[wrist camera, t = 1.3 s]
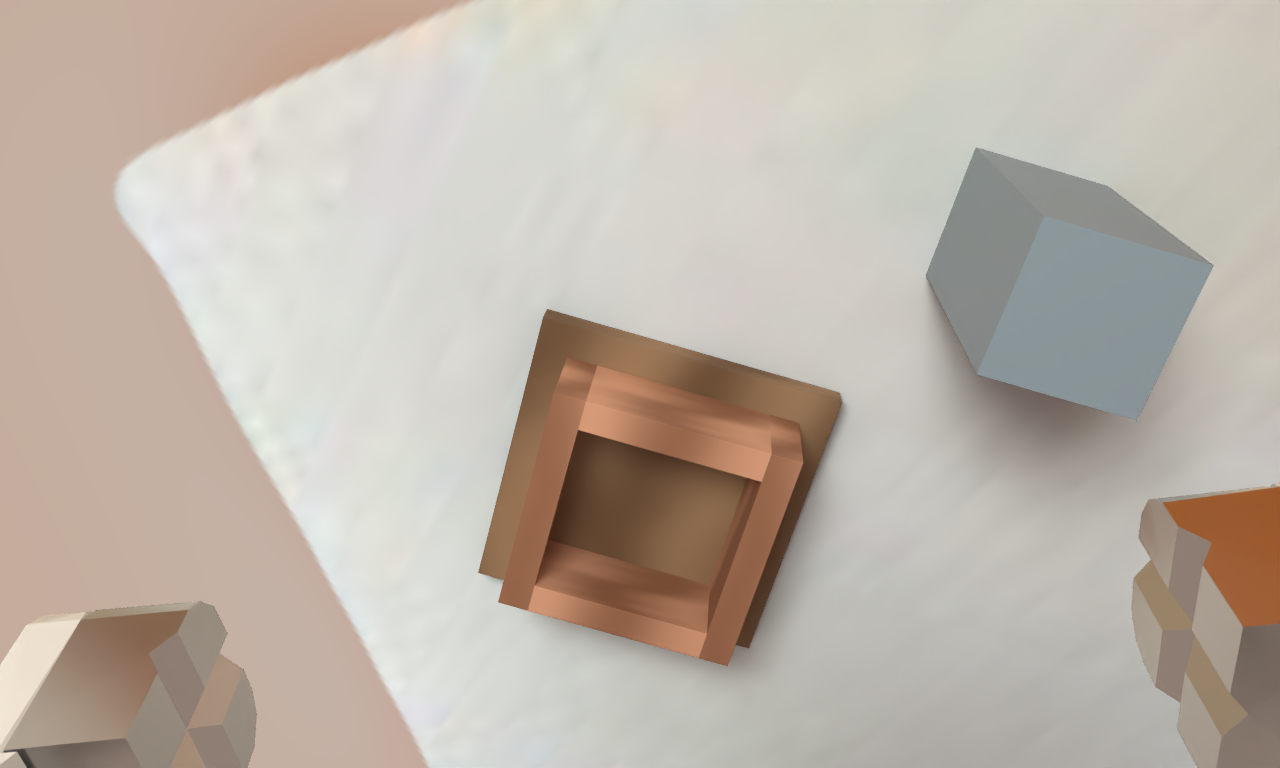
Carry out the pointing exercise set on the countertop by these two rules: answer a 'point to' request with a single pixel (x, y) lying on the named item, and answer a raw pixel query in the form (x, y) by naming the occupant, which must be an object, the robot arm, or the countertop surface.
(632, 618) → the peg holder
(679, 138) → the countertop surface
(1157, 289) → the square peg
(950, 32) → the countertop surface
